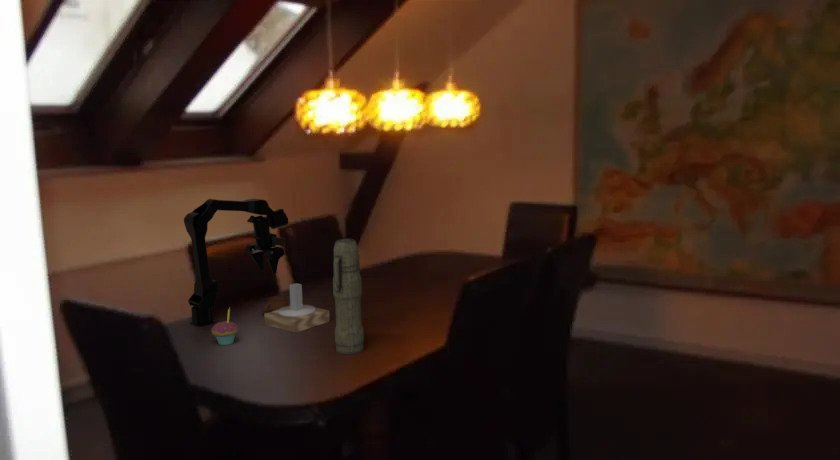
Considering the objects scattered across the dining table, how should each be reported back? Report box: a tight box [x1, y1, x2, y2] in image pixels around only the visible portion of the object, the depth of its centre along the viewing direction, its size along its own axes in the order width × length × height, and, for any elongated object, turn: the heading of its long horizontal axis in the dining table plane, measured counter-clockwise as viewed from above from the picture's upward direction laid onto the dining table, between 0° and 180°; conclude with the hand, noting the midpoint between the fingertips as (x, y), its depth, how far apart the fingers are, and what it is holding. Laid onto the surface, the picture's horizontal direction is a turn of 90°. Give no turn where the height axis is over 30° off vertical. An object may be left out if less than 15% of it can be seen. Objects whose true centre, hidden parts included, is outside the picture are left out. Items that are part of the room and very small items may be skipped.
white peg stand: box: [278, 282, 316, 317], centre depth 261 cm, size 13×13×10 cm
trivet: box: [263, 307, 330, 333], centre depth 262 cm, size 16×16×4 cm
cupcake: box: [211, 307, 240, 346], centre depth 241 cm, size 9×8×12 cm
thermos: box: [332, 238, 365, 355], centre depth 230 cm, size 9×12×35 cm
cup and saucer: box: [261, 295, 289, 315], centre depth 275 cm, size 12×12×6 cm
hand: (268, 271), depth 282 cm, fingers open, 9 cm apart
